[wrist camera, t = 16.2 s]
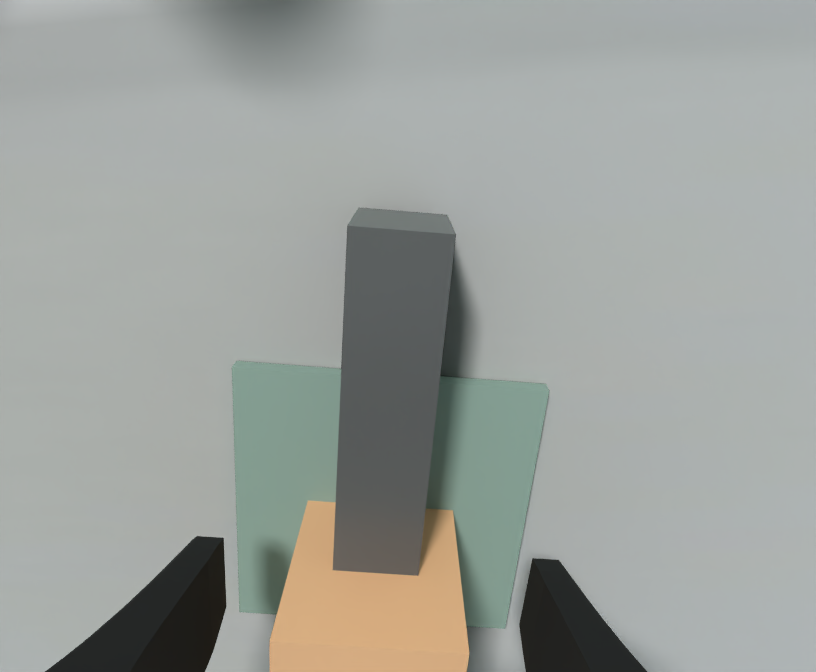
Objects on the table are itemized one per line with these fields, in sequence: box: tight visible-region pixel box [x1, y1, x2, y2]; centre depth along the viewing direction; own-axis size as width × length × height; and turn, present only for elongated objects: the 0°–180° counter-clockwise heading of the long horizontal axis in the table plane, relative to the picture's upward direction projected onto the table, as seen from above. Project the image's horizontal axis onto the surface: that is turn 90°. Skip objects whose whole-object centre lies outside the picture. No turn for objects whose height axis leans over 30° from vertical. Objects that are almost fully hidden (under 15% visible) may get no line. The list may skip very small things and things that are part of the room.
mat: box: [232, 361, 549, 629], centre depth 16 cm, size 8×8×1 cm
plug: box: [270, 208, 469, 672], centre depth 13 cm, size 4×13×4 cm, turn 175°
